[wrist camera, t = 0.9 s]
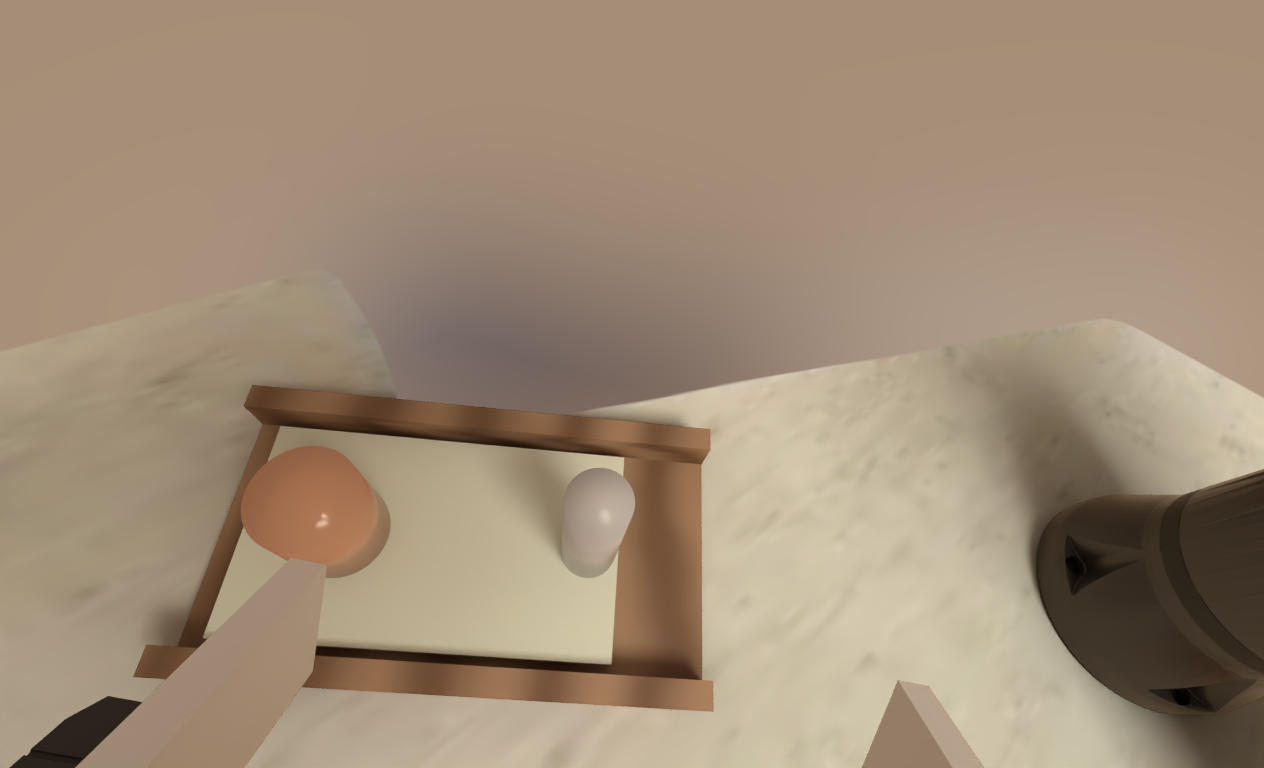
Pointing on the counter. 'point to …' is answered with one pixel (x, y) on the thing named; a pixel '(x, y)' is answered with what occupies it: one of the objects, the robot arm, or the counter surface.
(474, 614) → the cream flat panel
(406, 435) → the tray
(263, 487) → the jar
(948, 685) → the counter surface
